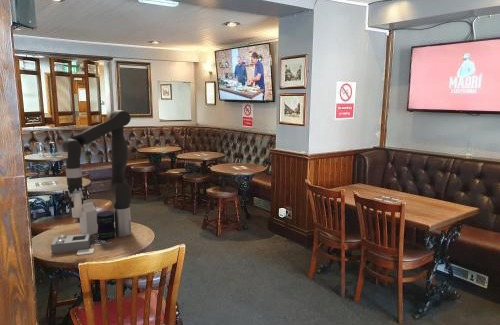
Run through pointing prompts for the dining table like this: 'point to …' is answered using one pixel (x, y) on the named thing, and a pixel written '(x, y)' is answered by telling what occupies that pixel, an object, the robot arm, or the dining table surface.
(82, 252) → the coaster
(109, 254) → the dining table surface
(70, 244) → the housing
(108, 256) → the dining table surface
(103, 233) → the storage jar
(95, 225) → the milk carton
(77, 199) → the tumbler with domed lid
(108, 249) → the dining table surface
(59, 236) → the plunger
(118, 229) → the robot arm
